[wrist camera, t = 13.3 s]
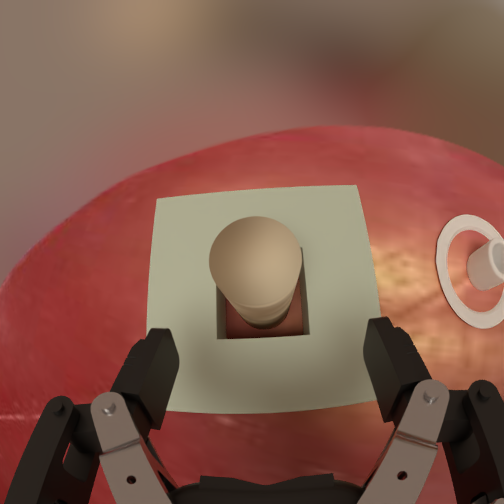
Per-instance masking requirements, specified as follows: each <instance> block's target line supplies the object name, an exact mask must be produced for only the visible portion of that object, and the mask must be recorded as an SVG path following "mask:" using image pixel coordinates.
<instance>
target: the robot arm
mask: <svg viewBox="0 0 504 504" xmlns="http://www.w3.org/2000/svg"><path fill="white" fill-rule="evenodd" d="M127 357H128V358H126V360H125V362H124V365H123V366H122V368H121V370H120V372H119V374H118V376H117V378H116V380H115V382H114V384H113V386H112V388H111V390H110V392H106V393H103V394H100V395H99V396H97V397H96V398H95V399H94V401H93V402H92V403H91V404H79V405H74V404H73V402H72V401H71V400H70V399H69V398H68V397H66V396H57V397H55V398H53V399H51V400H50V401H49V402H48V403H47V405H46V407H45V408H44V410H43V412H42V414H41V416H40V418H39V420H38V422H37V425H36V427H35V429H34V431H33V433H32V435H31V437H30V439H29V442H28V444H27V446H26V448H25V451H24V453H23V455H22V458H21V460H20V462H19V465H18V467H17V470H16V472H15V475H14V477H13V480H12V483H11V485H10V488H9V491H8V494H7V497H6V500H5V503H4V504H88V503H89V499H90V495H91V492H92V488H93V484H94V481H95V477H96V474H97V470H98V467H99V464H100V462H101V465H102V468H103V471H104V473H105V476H106V479H107V481H108V484H109V486H110V489H111V491H112V494H113V496H114V498H115V501H116V503H117V504H415V502H416V500H417V498H418V496H419V494H420V492H421V490H422V488H423V486H424V483H425V481H426V479H427V476H428V474H429V472H430V469H431V467H432V464H433V462H434V459H435V456H436V454H437V450H438V446H437V445H436V442H442V445H443V448H444V451H445V455H446V459H447V462H448V466H449V470H450V474H451V478H452V482H453V486H454V491H455V495H456V500H457V504H504V402H503V400H502V398H501V396H500V394H499V392H498V390H497V388H496V387H495V386H494V385H493V384H492V383H491V382H489V381H486V380H478V381H475V382H474V383H472V384H471V386H470V388H469V389H468V390H448V389H447V387H446V386H445V385H444V384H443V383H441V382H439V381H437V380H433V379H432V378H431V376H430V374H429V372H428V370H427V368H426V366H425V364H424V362H423V360H422V358H421V356H420V355H419V353H418V352H417V349H416V347H415V345H413V342H412V340H411V338H410V336H409V334H407V333H406V332H405V331H404V330H403V329H401V328H400V327H396V328H394V327H393V325H392V323H391V321H390V319H389V318H388V317H378V318H370V319H369V320H368V324H367V330H366V335H365V340H364V345H363V358H364V362H365V365H366V368H367V371H368V374H369V377H370V380H371V383H372V386H373V389H374V392H375V395H376V398H377V402H378V405H379V408H380V411H381V415H382V418H383V421H384V423H386V422H390V421H393V422H394V425H395V428H394V429H393V431H392V433H391V435H390V437H389V439H388V441H387V443H386V445H385V447H384V449H383V451H382V453H381V455H380V456H379V458H378V460H377V462H376V464H375V465H374V467H373V469H372V470H371V472H370V473H369V475H368V476H367V478H366V480H365V481H364V483H363V484H362V486H361V487H360V486H358V485H355V484H353V483H349V482H346V481H340V480H334V477H333V473H330V474H322V475H314V476H303V477H298V478H294V479H291V480H287V481H283V482H280V483H276V484H271V485H260V484H255V483H251V482H247V481H243V480H239V479H235V478H225V477H211V476H200V482H198V483H193V484H188V485H185V486H182V487H180V488H179V486H178V485H177V484H176V482H175V481H174V479H173V478H172V477H171V475H170V474H169V472H168V471H167V469H166V467H165V466H164V464H163V462H162V460H161V458H160V456H159V455H158V453H157V451H156V449H155V447H154V445H153V443H152V441H151V439H150V437H149V436H148V435H149V432H150V429H156V430H160V429H161V425H162V422H163V419H164V415H165V412H166V409H167V405H168V402H169V399H170V396H171V392H172V389H173V386H174V383H175V379H176V376H177V373H178V370H179V364H180V360H179V354H178V351H177V348H176V345H175V342H174V339H173V336H172V333H171V330H170V329H169V328H151V329H150V330H149V332H148V334H147V336H146V338H145V340H143V339H140V340H139V341H138V342H137V343H136V344H135V345H134V346H133V347H132V348H131V350H130V352H129V354H128V356H127ZM69 443H70V447H69V449H68V452H67V455H66V457H65V460H64V463H63V457H64V455H65V452H66V449H67V447H68V444H69Z"/></svg>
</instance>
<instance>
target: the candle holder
mask: <svg viewBox="0 0 504 504" xmlns="http://www.w3.org/2000/svg"><path fill="white" fill-rule="evenodd" d="M464 230H474V231H477V232H480V233H481V234H483V235H484V236H486V237H487V238H488V239H489V240H490V241H489V242H487V243H486V244H485V245H483V246H482V247H480V248H479V249H477V250H476V251H475V252H473V253H472V254H471V255H470V256H469V258H468V261H467V274H468V277H469V280H470V282H471V283H472V285H473V286H474V287H475V288H476V289H478V290H480V291H486V290H489V289H491V288H493V287H495V286H498V285H500V284H502V283H504V240H503V238H502V237H501V235H500V234H499V233H498V231H497V230H496V229H495V228H494V227H493V226H492V225H491V224H489V223H488V222H487V221H485V220H483V219H482V218H479V217H477V216H474V215H460V216H457V217H455V218H453V219H452V220H450V221H449V222H448V223H447V224H446V226H445V227H444V229H443V230H442V232H441V234H440V236H439V239H438V242H437V254H436V265H437V270H438V275H439V279H440V283H441V286H442V289H443V291H444V294H445V296H446V298H447V300H448V302H449V304H450V305H451V307H452V308H453V310H454V311H455V312H456V314H457V315H458V316H459V317H460V318H461V319H462V320H463V321H465V322H466V323H468V324H469V325H471V326H473V327H476V328H481V329H487V328H491V327H494V326H496V325H498V324H499V323H500V322H501V321H502V320H503V319H504V290H503V294H502V296H501V299H500V301H499V302H498V304H497V305H496V306H495V307H494V308H493V309H491V310H489V311H487V312H476V311H473V310H471V309H470V308H468V307H467V306H466V305H465V304H463V302H462V301H461V300H460V299H459V297H458V296H457V294H456V293H455V291H454V289H453V287H452V284H451V281H450V278H449V274H448V267H447V255H448V249H449V246H450V243H451V241H452V240H453V238H454V237H455V236H456V235H457V234H458V233H459V232H461V231H464Z"/></svg>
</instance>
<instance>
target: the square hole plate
mask: <svg viewBox="0 0 504 504" xmlns="http://www.w3.org/2000/svg"><path fill="white" fill-rule="evenodd" d="M251 216H261V217H267V218H271V219H274V220H276V221H278V222H280V223H282V224H283V225H285V226H286V227H287V228H288V229H289V230H290V231H291V232H292V233H293V234H294V236H295V237H296V239H297V241H298V243H299V246H300V249H301V254H302V264H301V269H300V273H299V282H300V294H301V307H302V320H303V335H300V336H287V337H271V338H250V339H227V338H226V297H225V295H224V294H223V293H222V292H221V290H220V289H219V288H218V286H217V285H216V283H215V282H214V280H213V278H212V275H211V272H210V268H209V254H210V250H211V247H212V244H213V242H214V240H215V238H216V237H217V236H218V234H219V233H220V232H221V231H222V230H223V229H224V228H225V227H226V226H228V225H229V224H231V223H232V222H234V221H236V220H239V219H242V218H245V217H251ZM378 317H381V312H380V304H379V297H378V290H377V283H376V276H375V270H374V264H373V259H372V253H371V248H370V242H369V237H368V232H367V228H366V223H365V218H364V214H363V210H362V205H361V201H360V197H359V193H358V189H357V185H334V186H304V187H284V188H267V189H252V190H239V191H227V192H216V193H205V194H195V195H186V196H177V197H168V198H160V199H157V204H156V211H155V219H154V228H153V237H152V247H151V258H150V271H149V286H148V305H147V334H148V332H149V330H150V329H151V328H169V329H170V330H171V333H172V336H173V339H174V342H175V345H176V348H177V351H178V354H179V360H180V364H179V370H178V373H177V376H176V379H175V383H174V386H173V389H172V392H171V396H170V399H169V402H168V405H167V409H166V410H168V411H180V412H194V413H218V414H255V413H279V412H294V411H305V410H315V409H324V408H332V407H339V406H346V405H352V404H358V403H364V402H369V401H374V400H377V398H376V395H375V392H374V389H373V386H372V383H371V380H370V377H369V374H368V371H367V368H366V365H365V362H364V358H363V345H364V340H365V335H366V330H367V324H368V320H369V319H370V318H378Z"/></svg>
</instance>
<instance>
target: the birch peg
mask: <svg viewBox="0 0 504 504" xmlns="http://www.w3.org/2000/svg"><path fill="white" fill-rule="evenodd" d="M301 264H302V254H301V249H300V246H299V243H298V241H297V239H296V237H295V236H294V234H293V233H292V232H291V231H290V230H289V229H288V228H287V227H286V226H285V225H283V224H282V223H280V222H278V221H276V220H274V219H271V218H267V217H261V216H251V217H245V218H242V219H239V220H236V221H234V222H232V223H231V224H229V225H228V226H226V227H225V228H224V229H223V230H222V231H221V232H220V233H219V234H218V236H217V237H216V238H215V240H214V242H213V244H212V247H211V250H210V254H209V268H210V272H211V275H212V278H213V280H214V282H215V283H216V285H217V286H218V288H219V289H220V290H221V292H222V293H223V294H224V295H225V297H226V298H227V299H228V301H229V302H230V303H231V304H232V306H233V307H234V308H235V309H236V311H237V312H238V313H239V314H240V316H241V317H242V318H243V320H244V321H245V322H246V323H247V324H249V325H250V326H252V327H254V328H257V329H271V328H274V327H276V326H278V325H279V324H280V323H281V322H282V321H283V320H284V319H285V317H286V316H287V313H288V310H289V307H290V304H291V301H292V297H293V294H294V290H295V287H296V284H297V280H298V277H299V273H300V269H301Z"/></svg>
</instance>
